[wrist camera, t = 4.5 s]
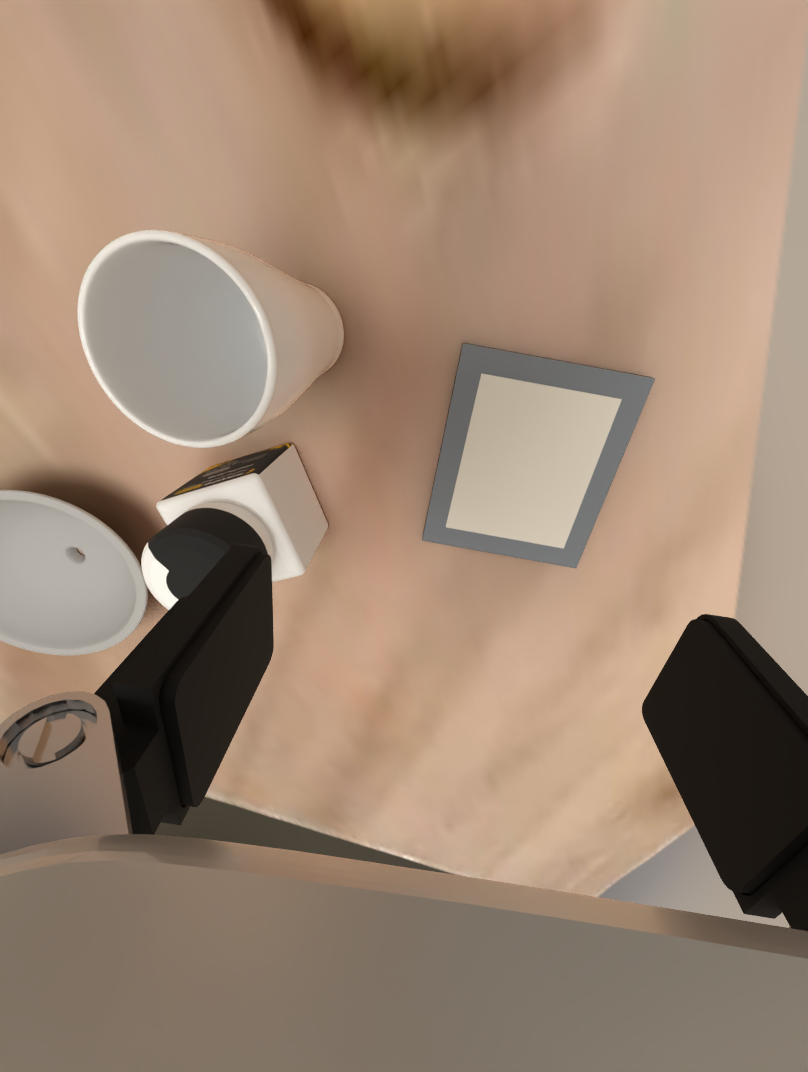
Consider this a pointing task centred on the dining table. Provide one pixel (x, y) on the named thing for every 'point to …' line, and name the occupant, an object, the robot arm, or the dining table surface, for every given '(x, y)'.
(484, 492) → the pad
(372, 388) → the dining table surface
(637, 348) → the dining table surface
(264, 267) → the drinking glass
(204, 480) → the medicine bottle
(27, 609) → the dish
